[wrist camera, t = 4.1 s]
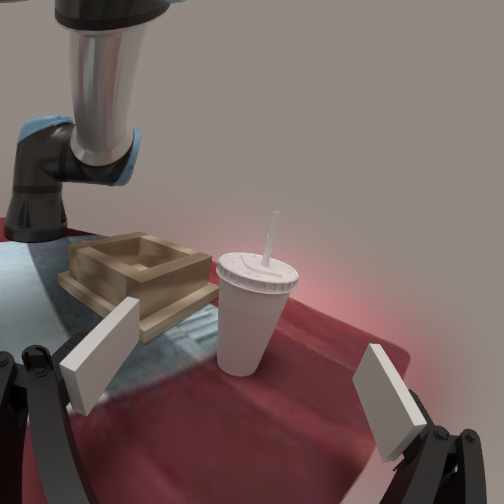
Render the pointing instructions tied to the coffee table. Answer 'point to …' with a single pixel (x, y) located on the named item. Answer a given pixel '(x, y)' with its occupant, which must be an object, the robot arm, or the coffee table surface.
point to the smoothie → (250, 304)
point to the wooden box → (140, 279)
